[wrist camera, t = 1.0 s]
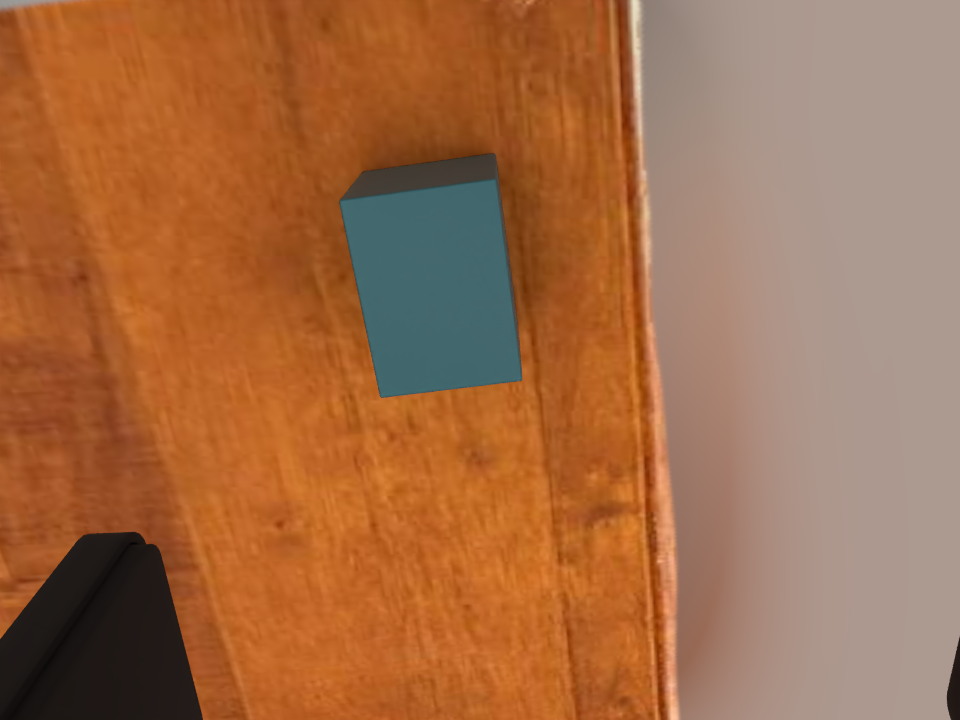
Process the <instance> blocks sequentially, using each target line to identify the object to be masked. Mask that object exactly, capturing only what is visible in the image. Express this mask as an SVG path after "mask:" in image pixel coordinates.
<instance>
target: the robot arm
mask: <svg viewBox="0 0 960 720" xmlns="http://www.w3.org/2000/svg"><path fill="white" fill-rule="evenodd" d="M947 706H948V711H949V715H950V718H951V720H960V638H959V642H958V646H957V651H956V655H955V660H954V664H953V669H952V673H951V678H950V682H949V687H948V691H947ZM0 720H203V718H202V713H201V709H200V705H199V701H198V697H197V693H196V690H195V686H194V682H193V678H192V674H191V670H190V666H189V662H188V658H187V654H186V650H185V647H184V643H183V639H182V635H181V631H180V627H179V623H178V619H177V615H176V611H175V607H174V604H173V600H172V596H171V592H170V588H169V584H168V580H167V576H166V572H165V568H164V564H163V561H162V557H161V554H160V551H159V549H158V548H157V546H156V545H153V544H146V543H145V540H144V539H143V537H142V536H141V535H140V534H139V533H136V532H122V533H97V534H87V535H83V536H82V537H81V538H80V539H79V540H78V541H77V542H76V543H75V545H74V546H73V547H72V548H71V550H70V551H69V552H68V553H67V555H66V556H65V557H64V559H63V560H62V561H61V562H60V564H59V565H58V566H57V568H56V569H55V570H54V571H53V573H52V574H51V575H50V576H49V578H48V579H47V580H46V582H45V583H44V584H43V585H42V587H41V588H40V589H39V590H38V592H37V593H36V594H35V596H34V597H33V598H32V599H31V601H30V602H29V603H28V604H27V606H26V607H25V608H24V610H23V611H22V612H21V613H20V615H19V616H18V617H17V618H16V620H15V621H14V622H13V624H12V625H11V626H10V627H9V629H8V630H7V631H6V633H5V634H4V635H3V636H2V638H1V639H0Z"/></svg>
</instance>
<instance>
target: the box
mask: <svg viewBox="0 0 960 720" xmlns="http://www.w3.org/2000/svg"><path fill="white" fill-rule="evenodd" d="M339 204H340V208H341V213H342V218H343V223H344V227H345V232H346V237H347V242H348V246H349V251H350V256H351V261H352V265H353V270H354V275H355V280H356V285H357V289H358V294H359V299H360V304H361V308H362V313H363V318H364V323H365V327H366V332H367V337H368V342H369V346H370V351H371V356H372V361H373V366H374V370H375V375H376V380H377V385H378V389H379V394H380V397H381V398H384V397H392V396H400V395H408V394H417V393H425V392H433V391H441V390H450V389H458V388H466V387H474V386H483V385H491V384H499V383H508V382H516V381H521V380H522V368H521V355H520V343H519V331H518V322H517V314H516V307H515V299H514V291H513V284H512V276H511V268H510V261H509V253H508V245H507V238H506V230H505V222H504V215H503V207H502V199H501V192H500V184H499V176H498V168H497V161H496V155H495V154H494V153H492V154H484V155H477V156H470V157H463V158H456V159H449V160H442V161H435V162H428V163H420V164H413V165H406V166H399V167H392V168H385V169H378V170H371V171H364V172H362V173H361V175H360V176H359V177H358V178H357V179H356V181H355V182H354V183H353V184H352V186H351V187H350V188H349V189H348V191H347V192H346V193H345V194H344V196H343V197H342V198H341V199H340V201H339Z"/></svg>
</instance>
